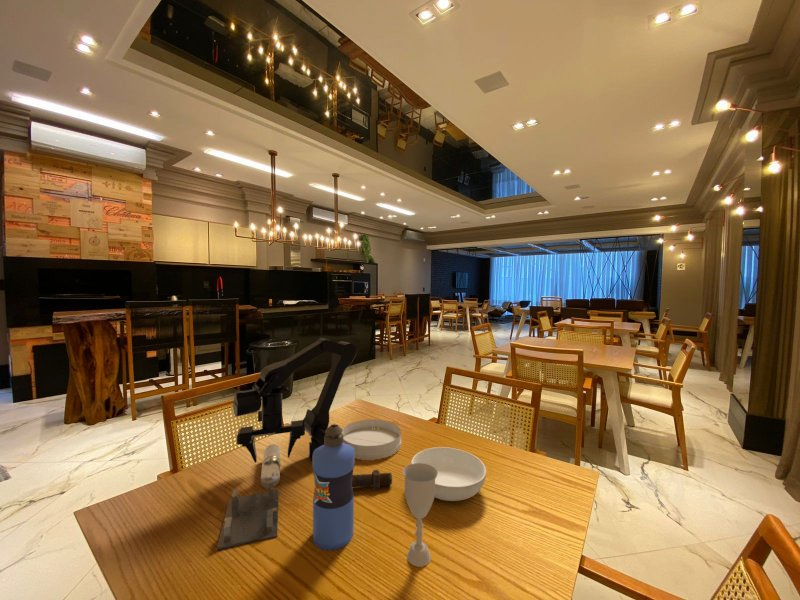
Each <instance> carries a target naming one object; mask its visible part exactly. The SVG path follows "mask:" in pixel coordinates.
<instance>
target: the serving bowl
mask: <svg viewBox="0 0 800 600" xmlns="http://www.w3.org/2000/svg"><path fill="white" fill-rule="evenodd" d="M415 463H422V464H427V465H430V466H432V467H434V468H435V469H436V470H437V472H438V474H437V477H436V479H435V497H434V499H435V498H436V499H439V500H441V501H448V502H458V501H464V500H467V499H469V498H473V497H474V496H475V495H476V494H478V493H479V492H480V491H481V489H482V488H483V487H484V484H485V481H486V476H487V467H486V465H485V464H484V463H483V461H482V460H481V459H480V458H478V456H476V455H474V454H472V453H470V452H468V451H466V450H462V449H458V448H455V447H447V446H445V447H444V446H437V447H431V448H425V449H422V450H421V451H419V452H417V453H416V454H415V455H414V456H413V457H412V458H411V461H410V464H415Z"/></svg>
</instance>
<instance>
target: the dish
mask: <svg viewBox="0 0 800 600" xmlns="http://www.w3.org/2000/svg"><path fill="white" fill-rule="evenodd" d="M372 428H373V429H372ZM374 428H375V429H374ZM378 428H379V429H378ZM341 429H342V430H343V431H342V434H343V443H345V444H348V445H351V446H352V447H353V448H354V450H355V458H357V459H356V460H358V459H363V460H362V461H372V460H371V459H378V460H382V459H381V458H384V459H386V458H385V457H387V458H389V457H388V456H390V455H392V454H394V453H395V454H397V453H398V452H399V451H398V450H399V449H400V450H401V448H400V447H402V430H401V428H400V427H399V426H398V425H397V424H396V423H394V422H391V421H388V420H383V419H371V418H370V419H363V420H357V421H353V422H351V423H348V424H346V425H345V426H344V427H342V428H341ZM397 451H398V452H397ZM396 452H397V453H396ZM395 454H394V455H395ZM392 456H393V455H392ZM390 457H391V456H390Z"/></svg>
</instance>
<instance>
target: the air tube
mask: <svg viewBox="0 0 800 600" xmlns="http://www.w3.org/2000/svg"><path fill="white" fill-rule="evenodd" d="M280 474H281V447H280V446H279V445H277V444H269V445H268V446H266V447H265V448H264V450H263V458H262V464H261V473H260V484H261V486H262V487H263V488H265V489H269V484H270V483H274V487H276V486H277V485H278V483H279V482H280V479H281V475H280Z"/></svg>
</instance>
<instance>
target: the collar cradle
mask: <svg viewBox="0 0 800 600" xmlns="http://www.w3.org/2000/svg"><path fill="white" fill-rule="evenodd" d="M278 521H279V489H275V486H274V483H270V484H269V488H268V491H264V492H258V493H254V494H248V495H242V496H239V488H237V489H233V490H232V494H231V498H229V499H228V503H227V507H226V511H225V515H224V519H223V524H222V527H221V530H220V534H219V539H218V543H217V546H216V551H220V550H224V549H225V550H226V549H229V548H233V547H238V546H242V545H247V544H251V543H255V542H259V541H264V540H267V539H271V538H276V537H278V529H279V528H278V526H279V524H278V523H279V522H278Z"/></svg>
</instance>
